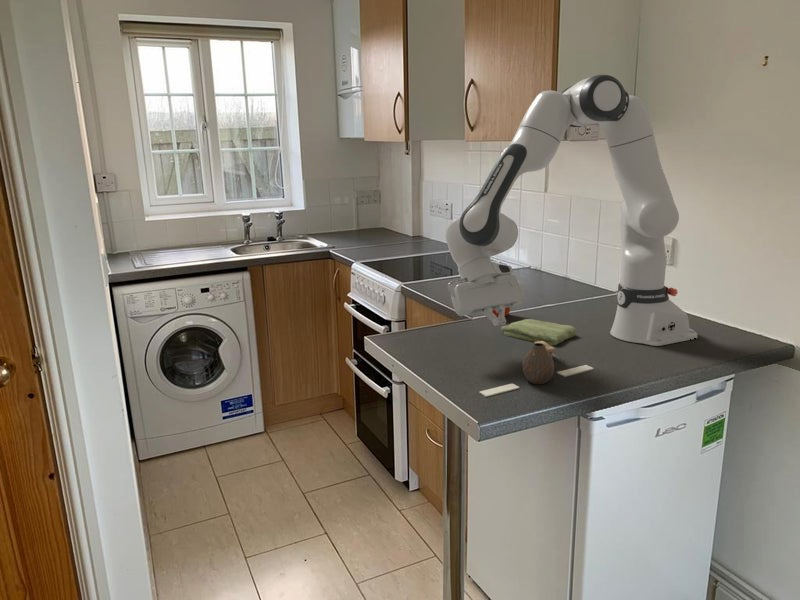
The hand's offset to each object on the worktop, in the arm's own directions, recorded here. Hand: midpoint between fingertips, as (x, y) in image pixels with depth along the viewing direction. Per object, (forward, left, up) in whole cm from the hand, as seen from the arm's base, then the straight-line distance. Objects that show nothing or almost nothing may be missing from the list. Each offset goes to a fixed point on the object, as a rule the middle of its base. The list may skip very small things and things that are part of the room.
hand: (500, 324), depth 150 cm
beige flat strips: (-4, +16, -9) cm, 18 cm away
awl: (-13, +2, -9) cm, 16 cm away
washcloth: (-17, -15, -10) cm, 24 cm away
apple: (-13, -35, -9) cm, 38 cm away
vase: (-3, +16, -9) cm, 18 cm away
